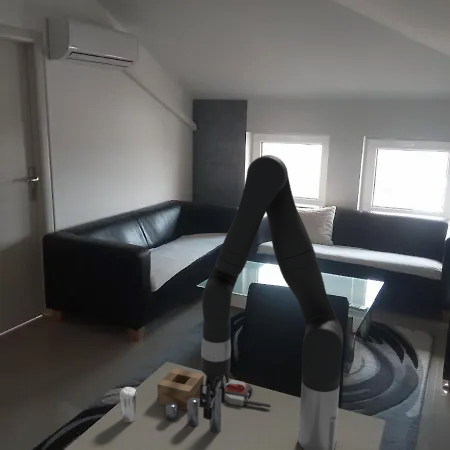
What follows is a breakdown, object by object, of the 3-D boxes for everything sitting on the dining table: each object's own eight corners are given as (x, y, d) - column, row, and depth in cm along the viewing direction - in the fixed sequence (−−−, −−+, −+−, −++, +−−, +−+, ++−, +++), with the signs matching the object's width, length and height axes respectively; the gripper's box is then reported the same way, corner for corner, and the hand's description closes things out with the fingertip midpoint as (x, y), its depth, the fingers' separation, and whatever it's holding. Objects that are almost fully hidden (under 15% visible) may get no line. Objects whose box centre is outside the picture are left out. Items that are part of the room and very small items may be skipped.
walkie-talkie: (202, 400, 143) (269, 412, 138) (202, 386, 142) (270, 398, 137) (211, 385, 151) (275, 396, 146) (212, 372, 150) (276, 382, 145)
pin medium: (200, 422, 132) (200, 399, 131) (195, 428, 130) (195, 404, 128) (190, 419, 133) (190, 396, 132) (185, 425, 131) (185, 402, 129)
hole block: (203, 392, 146) (203, 374, 145) (189, 410, 137) (189, 391, 136) (173, 385, 150) (173, 367, 149) (157, 402, 141) (157, 384, 139)
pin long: (222, 427, 130) (223, 387, 127) (218, 434, 127) (218, 393, 125) (212, 425, 131) (212, 384, 128) (207, 431, 128) (208, 390, 126)
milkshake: (131, 427, 129) (130, 393, 127) (116, 420, 132) (115, 387, 130) (143, 418, 133) (142, 385, 131) (128, 412, 136) (127, 380, 134)
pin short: (178, 416, 135) (178, 403, 134) (173, 422, 132) (173, 409, 131) (169, 414, 136) (168, 401, 135) (163, 420, 133) (163, 407, 132)
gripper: (218, 369, 117) (216, 428, 120) (239, 344, 130) (236, 398, 133) (190, 362, 119) (189, 421, 123) (213, 338, 132) (211, 392, 136)
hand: (214, 409), depth 128 cm, fingers open, 8 cm apart
